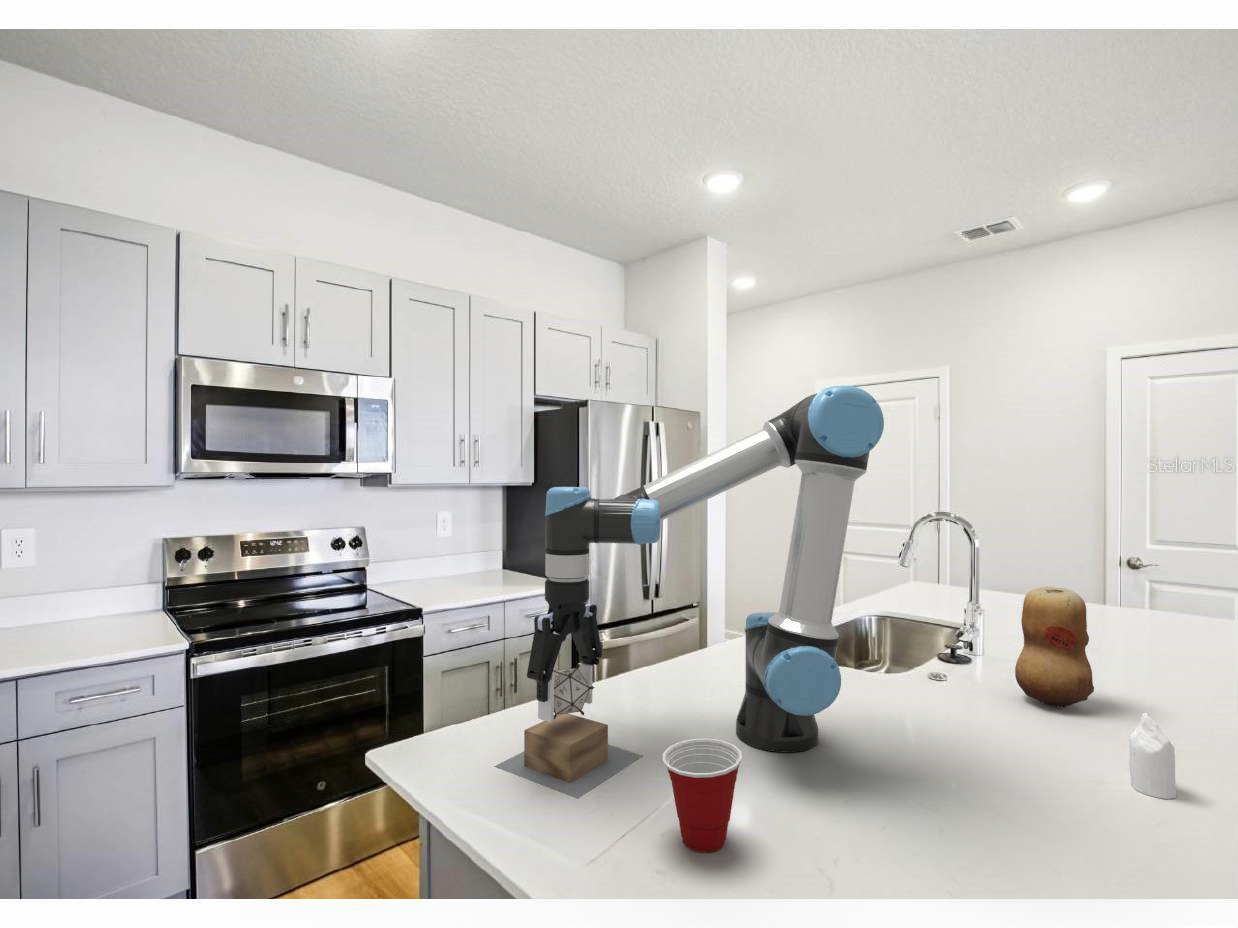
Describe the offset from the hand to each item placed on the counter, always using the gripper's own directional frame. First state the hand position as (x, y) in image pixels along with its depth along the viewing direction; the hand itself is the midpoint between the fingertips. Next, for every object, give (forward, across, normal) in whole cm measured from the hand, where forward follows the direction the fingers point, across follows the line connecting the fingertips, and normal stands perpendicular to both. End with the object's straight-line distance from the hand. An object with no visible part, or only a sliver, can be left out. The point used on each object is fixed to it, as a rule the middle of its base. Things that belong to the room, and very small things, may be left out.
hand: (566, 710), depth 110 cm
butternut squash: (+9, -83, +66) cm, 107 cm away
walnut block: (+9, 0, 0) cm, 9 cm away
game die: (+1, 0, 0) cm, 1 cm away
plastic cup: (+10, +6, +29) cm, 31 cm away
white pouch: (+9, -48, +80) cm, 94 cm away
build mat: (+9, -1, 0) cm, 10 cm away
